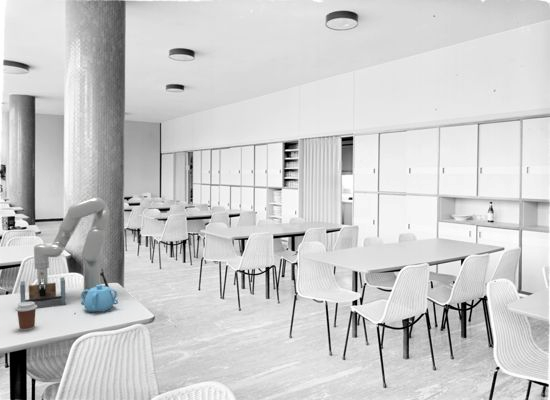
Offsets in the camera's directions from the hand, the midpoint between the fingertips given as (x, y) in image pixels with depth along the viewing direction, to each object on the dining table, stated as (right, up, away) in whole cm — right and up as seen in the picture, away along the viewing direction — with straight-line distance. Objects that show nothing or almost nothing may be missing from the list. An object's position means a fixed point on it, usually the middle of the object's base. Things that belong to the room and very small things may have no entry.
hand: (42, 294), depth 263 cm
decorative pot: (+41, -5, -19) cm, 46 cm away
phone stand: (+24, -2, +27) cm, 37 cm away
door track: (+7, -4, -12) cm, 15 cm away
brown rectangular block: (0, -3, 0) cm, 3 cm away
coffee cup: (+18, -6, -49) cm, 52 cm away
